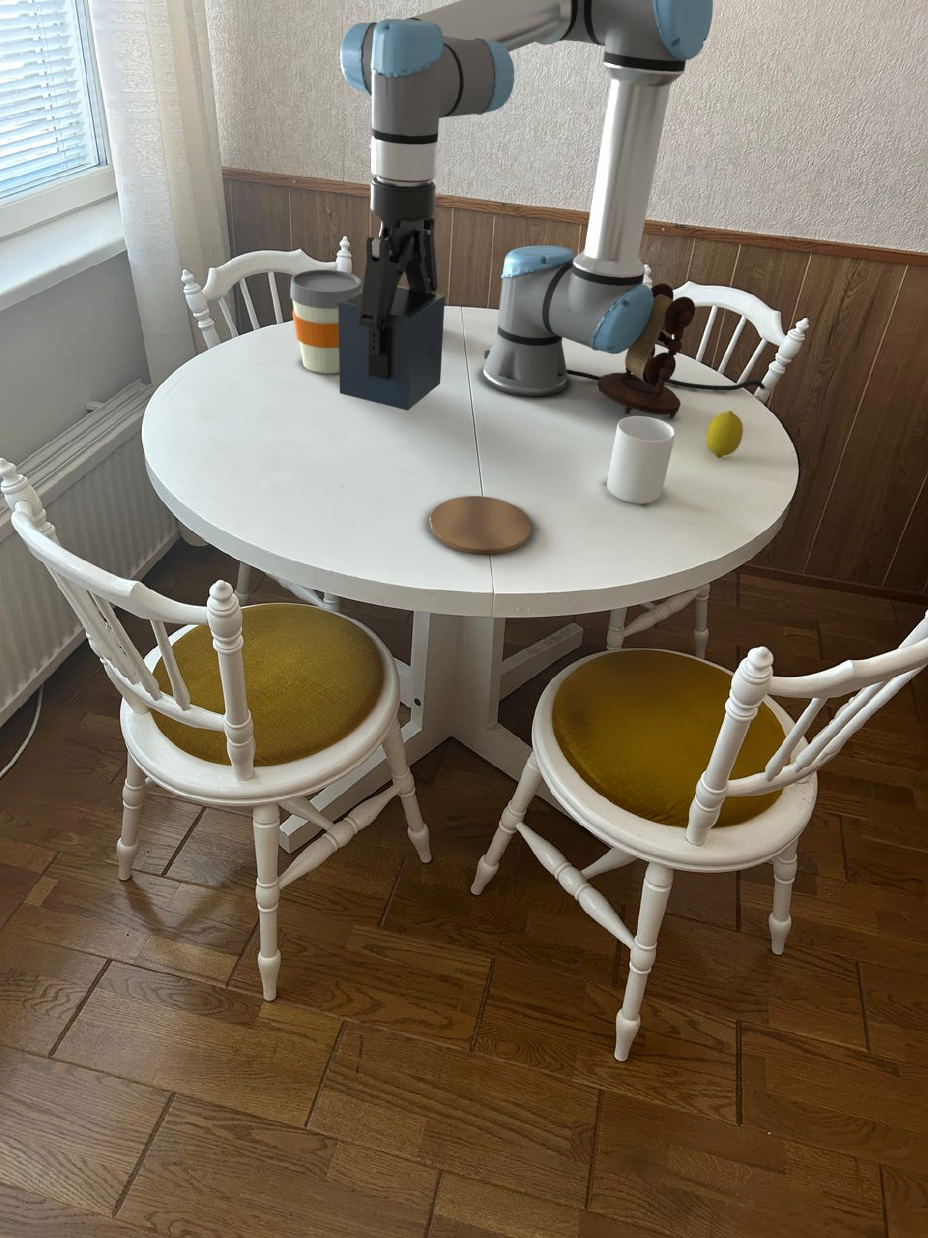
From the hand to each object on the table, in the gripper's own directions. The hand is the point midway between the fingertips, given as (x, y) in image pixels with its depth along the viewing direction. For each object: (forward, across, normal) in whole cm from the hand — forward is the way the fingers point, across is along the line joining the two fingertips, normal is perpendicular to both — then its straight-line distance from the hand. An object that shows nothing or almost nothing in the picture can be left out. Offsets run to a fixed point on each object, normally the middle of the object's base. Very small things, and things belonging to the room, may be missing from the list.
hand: (398, 362), depth 120 cm
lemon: (+20, -37, +40) cm, 58 cm away
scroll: (+19, -48, +23) cm, 56 cm away
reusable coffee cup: (+20, -36, -32) cm, 52 cm away
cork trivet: (+20, +2, +14) cm, 24 cm away
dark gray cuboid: (-2, 0, -6) cm, 6 cm away
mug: (+20, -20, +29) cm, 41 cm away
